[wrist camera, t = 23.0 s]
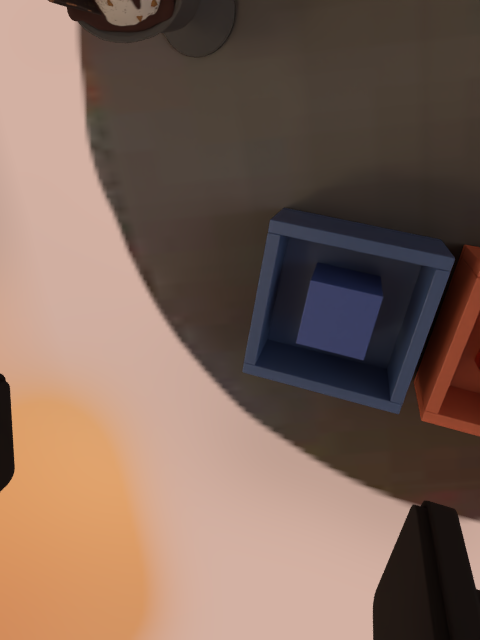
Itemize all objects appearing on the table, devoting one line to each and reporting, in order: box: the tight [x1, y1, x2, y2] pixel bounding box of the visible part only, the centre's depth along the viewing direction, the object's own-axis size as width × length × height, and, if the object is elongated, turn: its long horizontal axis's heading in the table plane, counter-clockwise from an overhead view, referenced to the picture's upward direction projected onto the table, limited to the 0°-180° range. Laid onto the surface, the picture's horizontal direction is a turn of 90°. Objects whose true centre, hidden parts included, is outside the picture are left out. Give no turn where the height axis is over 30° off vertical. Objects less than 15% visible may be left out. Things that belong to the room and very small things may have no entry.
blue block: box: [296, 263, 383, 360], centre depth 30 cm, size 4×4×4 cm
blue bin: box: [242, 208, 455, 414], centre depth 30 cm, size 11×11×5 cm
